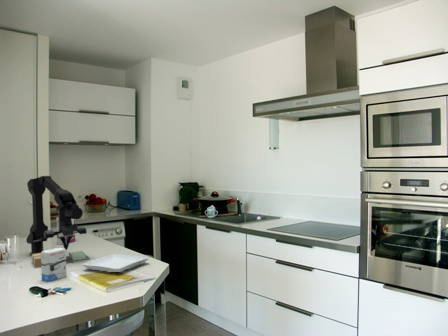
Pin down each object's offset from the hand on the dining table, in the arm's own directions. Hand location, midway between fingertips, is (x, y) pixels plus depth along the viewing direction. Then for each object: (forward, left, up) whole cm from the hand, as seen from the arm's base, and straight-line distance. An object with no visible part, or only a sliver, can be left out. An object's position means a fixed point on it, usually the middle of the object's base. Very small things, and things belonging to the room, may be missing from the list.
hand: (66, 249), depth 187 cm
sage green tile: (0, +5, -2) cm, 5 cm away
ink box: (+29, -10, -5) cm, 31 cm away
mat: (0, +4, -5) cm, 6 cm away
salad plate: (+28, +16, -6) cm, 33 cm away
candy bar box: (-44, +8, -5) cm, 45 cm away
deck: (0, -8, -5) cm, 9 cm away
